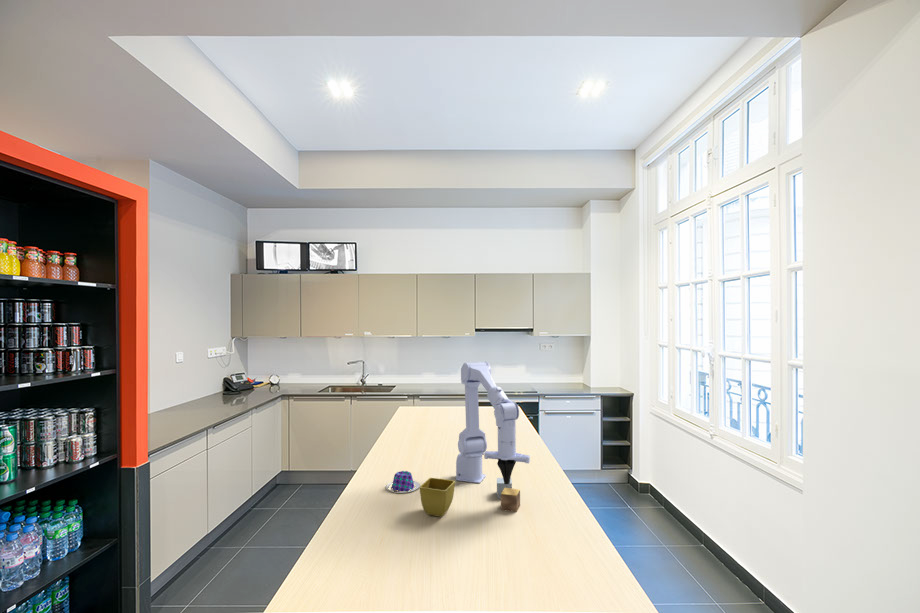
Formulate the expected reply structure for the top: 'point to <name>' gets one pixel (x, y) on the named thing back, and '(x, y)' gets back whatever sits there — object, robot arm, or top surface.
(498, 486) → the slate-grey cube
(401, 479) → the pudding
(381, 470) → the top surface
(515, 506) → the walnut cube
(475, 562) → the top surface
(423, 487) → the flower pot
